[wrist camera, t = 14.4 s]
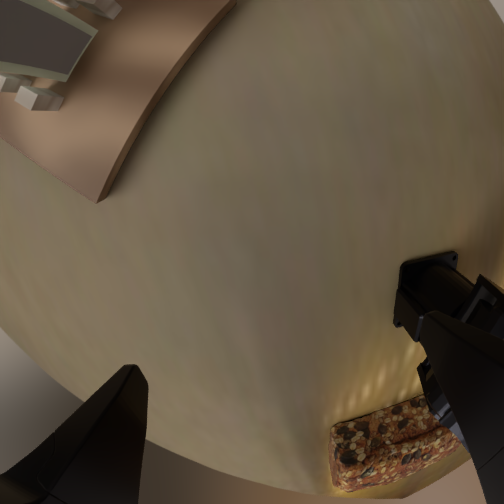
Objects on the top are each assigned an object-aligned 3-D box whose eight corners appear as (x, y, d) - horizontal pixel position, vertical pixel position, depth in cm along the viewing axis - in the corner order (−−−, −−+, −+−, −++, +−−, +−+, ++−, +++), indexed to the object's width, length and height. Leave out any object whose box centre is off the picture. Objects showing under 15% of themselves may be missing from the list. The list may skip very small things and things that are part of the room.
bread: (448, 379, 29) (479, 428, 19) (428, 417, 33) (449, 461, 24) (326, 421, 29) (344, 488, 20) (323, 452, 33) (335, 505, 24)
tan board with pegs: (68, -41, 8) (44, -59, 3) (236, 3, 12) (236, -30, 8) (-22, 111, 12) (-54, 115, 8) (105, 198, 17) (72, 217, 13)
